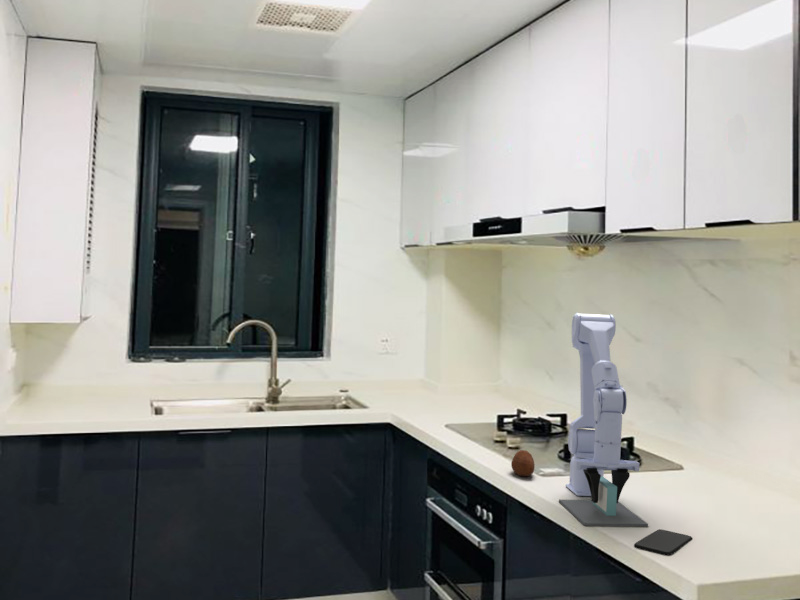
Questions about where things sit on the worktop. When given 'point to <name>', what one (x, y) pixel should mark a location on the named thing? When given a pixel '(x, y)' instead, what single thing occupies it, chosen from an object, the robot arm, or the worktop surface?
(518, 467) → the potato
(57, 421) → the worktop surface
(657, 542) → the smartphone
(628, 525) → the mat
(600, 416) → the robot arm
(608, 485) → the block
